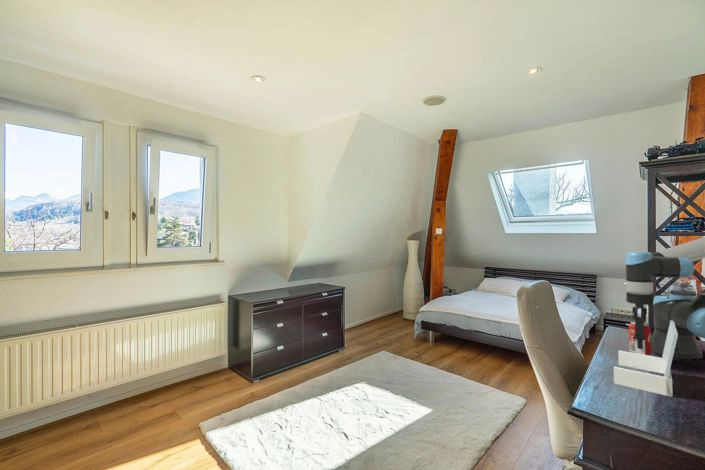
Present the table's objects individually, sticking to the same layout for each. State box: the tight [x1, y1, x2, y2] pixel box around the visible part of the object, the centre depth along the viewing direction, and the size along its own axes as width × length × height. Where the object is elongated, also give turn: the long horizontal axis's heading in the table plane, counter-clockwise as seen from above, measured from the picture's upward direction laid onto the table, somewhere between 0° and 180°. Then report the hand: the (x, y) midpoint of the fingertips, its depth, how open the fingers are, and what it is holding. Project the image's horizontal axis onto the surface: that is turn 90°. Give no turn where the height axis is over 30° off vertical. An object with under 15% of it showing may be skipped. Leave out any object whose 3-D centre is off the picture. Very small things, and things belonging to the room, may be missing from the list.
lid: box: [661, 320, 678, 377], centre depth 101 cm, size 13×22×1 cm
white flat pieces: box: [613, 349, 673, 398], centre depth 106 cm, size 13×22×5 cm, turn 137°
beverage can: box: [628, 321, 653, 356], centre depth 120 cm, size 6×6×12 cm
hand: (640, 354), depth 120 cm, fingers closed on beverage can, 6 cm apart
